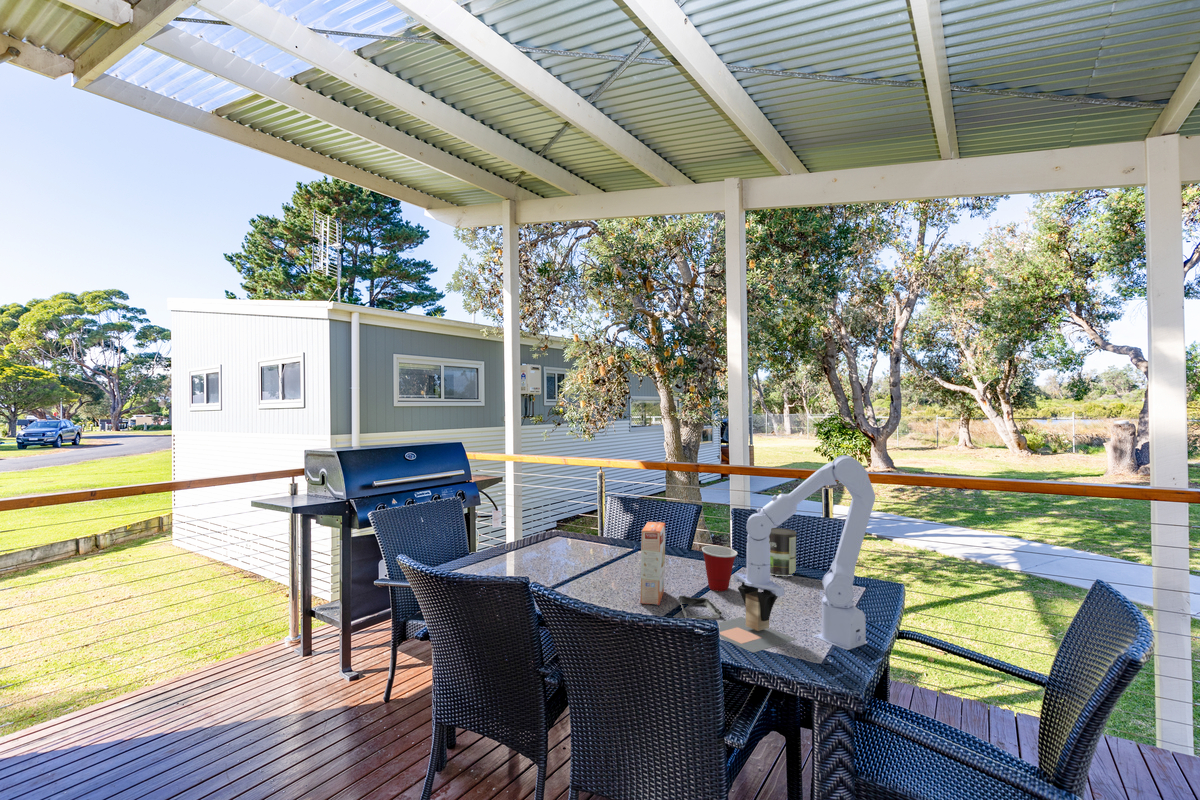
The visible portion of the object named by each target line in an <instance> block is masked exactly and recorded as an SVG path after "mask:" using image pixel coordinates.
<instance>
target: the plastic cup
mask: <svg viewBox="0 0 1200 800" xmlns="http://www.w3.org/2000/svg"><path fill="white" fill-rule="evenodd" d="M701 551H702V552H703V560H704V565H705V570H706V572H705V573H706V578H707V583H708V585H707V586H708V588H709V589H710V590H712V591H716V592H726V591H728V590H729V587H730V582H731V578H732V571H733V567H734V562H735V559H736V557H737V556H738V554H739V553H738V551H736V550H735V549H733V548H729V547H727V546H722V545H706V546H703V547H701ZM727 589H728V590H727ZM725 590H726V591H725Z"/></svg>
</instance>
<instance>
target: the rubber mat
mask: <svg viewBox="0 0 1200 800" xmlns="http://www.w3.org/2000/svg"><path fill="white" fill-rule="evenodd" d="M718 623H719V625H720V637H721V638H720V639H722V640H724V641H727V643H731V644H733V645H735V646H737V647H739V648H741V649H743V650H746V651H748V652H749V653H759V652H761V651H763V650H766V649H767V650H768V649H769V648H770V649H771V648H773V647H776V646H779V645H783V644H786V643H789V642H793V641H796V640H797V638H795V637H793V636H791V635H788V634H785V633H783V632H780V631H777V630H775V629H773V628H770V627H769V628H766V629H763V630H760V631H757V630H754V629H752V628H750V627H747V626H746V617H743V616H739V617H738V616H737V617H735V618H731V619H727V620H724V621H720V622H718Z"/></svg>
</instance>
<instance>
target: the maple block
mask: <svg viewBox="0 0 1200 800" xmlns="http://www.w3.org/2000/svg"><path fill="white" fill-rule="evenodd" d="M759 592H760V591H759V590H758V591H755V592H751V593H747V594H746V607H745V618H746V626H747V627H750V628H752V629H754V630H757V631H760V630H763V629H766V628H770V619H769V620H767V621H761V614H760V603H759V599H758V596H757V593H759Z"/></svg>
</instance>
